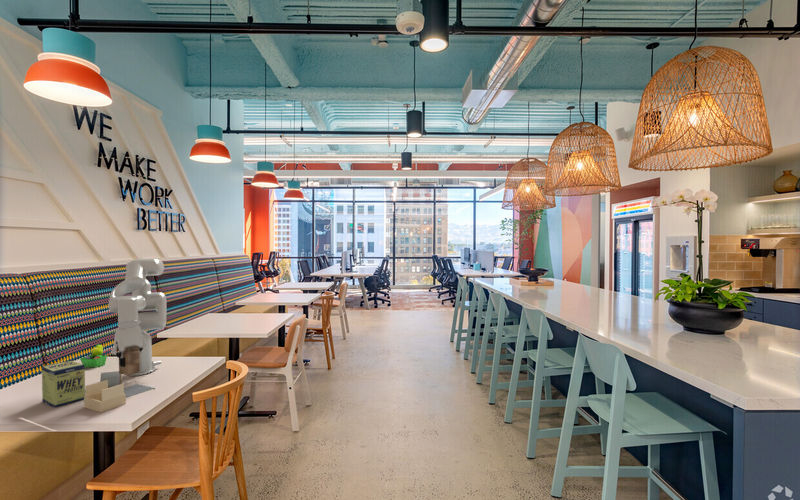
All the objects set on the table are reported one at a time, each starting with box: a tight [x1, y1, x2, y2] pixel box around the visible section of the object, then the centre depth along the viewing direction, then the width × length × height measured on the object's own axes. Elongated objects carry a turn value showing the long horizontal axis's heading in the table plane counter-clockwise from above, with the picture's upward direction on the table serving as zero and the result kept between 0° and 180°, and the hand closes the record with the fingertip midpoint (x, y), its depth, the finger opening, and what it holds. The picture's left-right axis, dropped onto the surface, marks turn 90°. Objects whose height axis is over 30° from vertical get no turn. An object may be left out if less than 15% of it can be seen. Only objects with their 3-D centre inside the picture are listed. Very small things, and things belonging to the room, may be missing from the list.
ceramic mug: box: [99, 370, 123, 388], centre depth 185 cm, size 11×8×8 cm
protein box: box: [41, 360, 86, 408], centre depth 168 cm, size 10×16×16 cm
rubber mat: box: [124, 383, 156, 399], centre depth 177 cm, size 14×14×1 cm
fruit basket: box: [79, 344, 108, 368], centre depth 222 cm, size 11×9×11 cm
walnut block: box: [118, 346, 140, 376], centre depth 177 cm, size 5×7×12 cm
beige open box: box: [83, 380, 127, 413], centre depth 161 cm, size 9×12×9 cm
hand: (129, 364), depth 177 cm, fingers closed on walnut block, 5 cm apart
